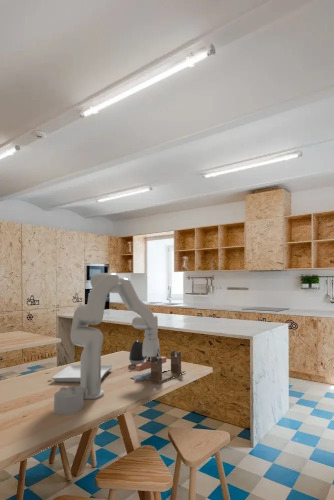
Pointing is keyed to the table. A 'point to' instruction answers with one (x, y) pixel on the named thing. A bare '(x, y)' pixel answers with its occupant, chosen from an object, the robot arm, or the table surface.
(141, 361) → the pump dispenser
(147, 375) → the mat
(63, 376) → the square plate
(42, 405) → the table surface
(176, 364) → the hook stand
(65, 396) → the lumpy-topped squat cylinder
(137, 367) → the rail
